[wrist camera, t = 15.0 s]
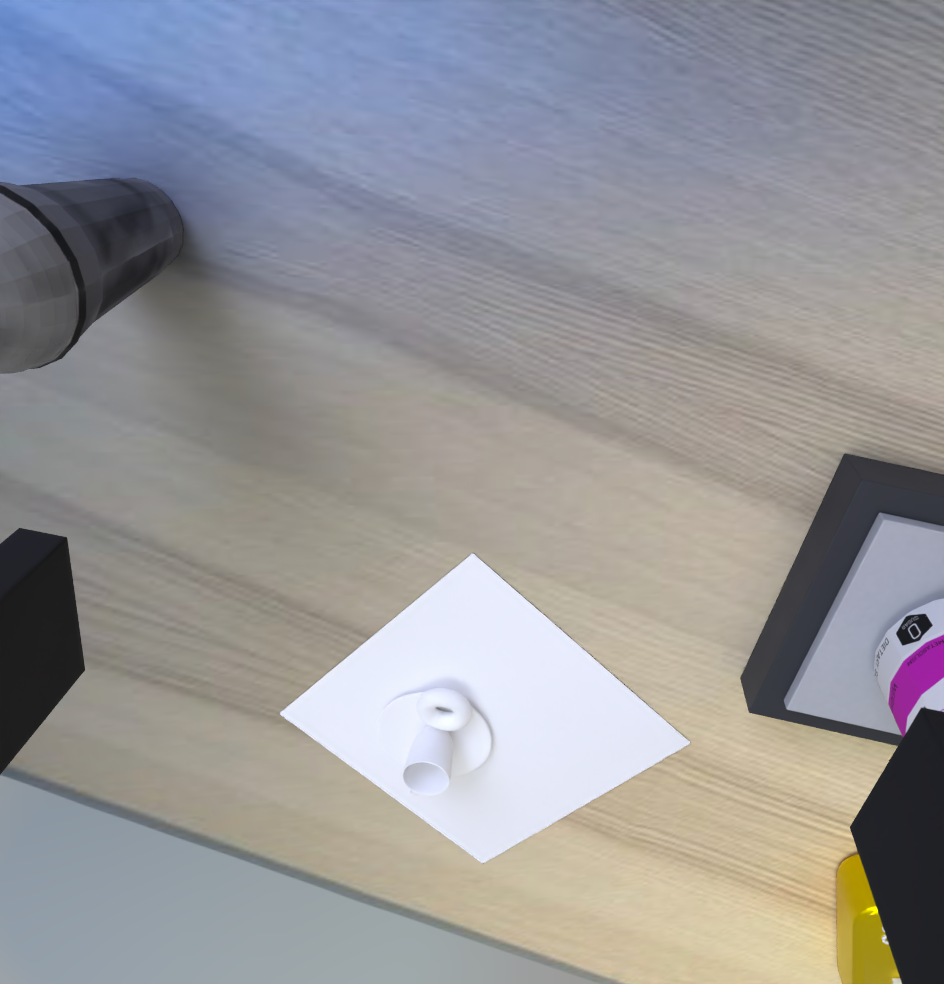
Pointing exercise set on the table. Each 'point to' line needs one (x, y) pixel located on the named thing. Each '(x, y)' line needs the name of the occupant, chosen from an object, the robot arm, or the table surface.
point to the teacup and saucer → (482, 715)
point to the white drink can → (913, 664)
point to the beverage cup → (75, 259)
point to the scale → (850, 599)
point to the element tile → (861, 930)
